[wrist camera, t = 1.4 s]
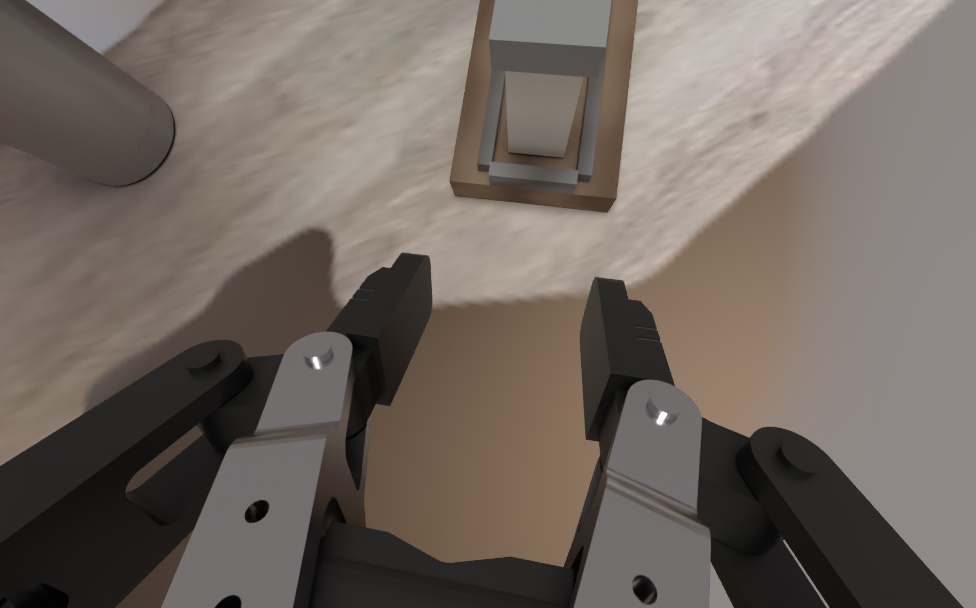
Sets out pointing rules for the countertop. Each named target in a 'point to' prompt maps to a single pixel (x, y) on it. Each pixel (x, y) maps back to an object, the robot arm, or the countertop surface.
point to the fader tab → (546, 66)
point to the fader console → (592, 138)
